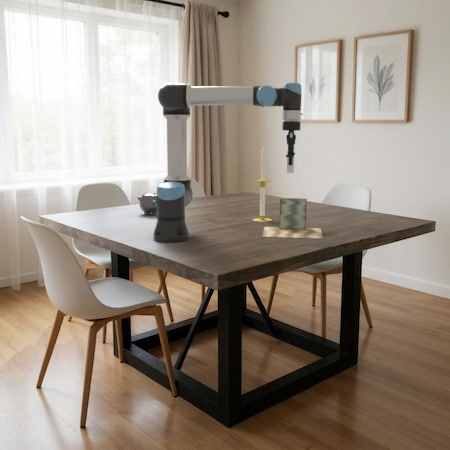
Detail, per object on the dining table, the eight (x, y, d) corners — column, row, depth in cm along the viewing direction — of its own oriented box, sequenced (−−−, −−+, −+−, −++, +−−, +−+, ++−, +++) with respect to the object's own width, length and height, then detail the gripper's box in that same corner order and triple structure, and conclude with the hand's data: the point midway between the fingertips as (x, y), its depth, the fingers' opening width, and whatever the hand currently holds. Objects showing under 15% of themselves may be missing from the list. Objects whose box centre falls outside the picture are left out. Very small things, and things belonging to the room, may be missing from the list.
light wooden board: (262, 237, 233) (262, 236, 233) (264, 227, 254) (264, 226, 254) (323, 239, 230) (323, 238, 230) (320, 229, 251) (320, 228, 251)
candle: (261, 218, 279) (262, 144, 272) (276, 220, 272) (278, 145, 265) (248, 220, 272) (249, 145, 265) (263, 223, 265) (264, 145, 258)
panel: (279, 229, 249) (280, 198, 246) (279, 227, 252) (280, 197, 249) (305, 229, 248) (306, 199, 245) (305, 228, 251) (306, 198, 248)
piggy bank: (163, 216, 281) (162, 194, 279) (135, 215, 283) (134, 194, 281) (168, 213, 292) (167, 192, 290) (141, 212, 294) (140, 191, 292)
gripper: (301, 121, 215) (299, 174, 219) (300, 120, 239) (298, 169, 243) (282, 120, 216) (280, 174, 220) (283, 120, 240) (281, 168, 244)
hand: (290, 171), depth 232 cm, fingers open, 13 cm apart
